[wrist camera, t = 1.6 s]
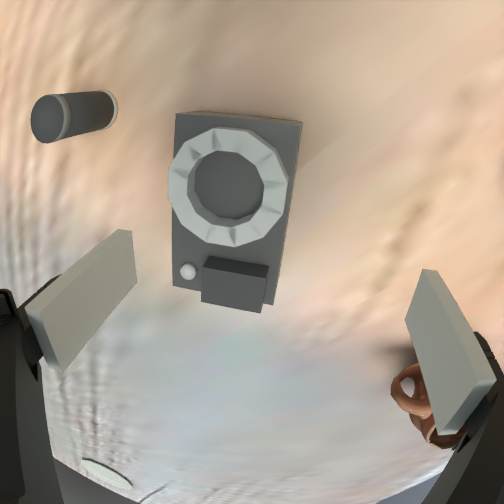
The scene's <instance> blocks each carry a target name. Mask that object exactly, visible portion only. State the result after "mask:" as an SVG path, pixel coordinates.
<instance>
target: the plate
mask: <svg viewBox="0 0 504 504" xmlns="http://www.w3.org/2000/svg"><path fill="white" fill-rule="evenodd" d="M81 464H82V465H83V466H84V467H85V469H87V470H88V471H89V472H90V473H92V474H93V475H95V476H96V477H98V478H99V479H101V480H103V481H105V482H107V483H109V484H111V485H113V486H116V487H119V488H122V489H127V490H131V488H133V487H132V486H131V485H130V483H129V482H128V481H127V480H126V479H125V478H124V477H122V476H121V475H120V474H118V473H117V472H115V471H113V470H112V469H110V468H108V467H106V466H104V465H102V464H99V463H97V462H93V461H89V460H81ZM103 469H104V470H103ZM106 474H107V475H106ZM112 474H113V475H114V476H113V475H112ZM108 475H109V476H108Z"/></svg>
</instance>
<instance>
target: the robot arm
mask: <svg viewBox="0 0 504 504" xmlns="http://www.w3.org/2000/svg"><path fill="white" fill-rule="evenodd" d="M136 283H137V276H136V267H135V259H134V250H133V240H132V231H128V230H120V229H118V230H116V231H115V232H114V233H112V234H111V235H110V236H109V237H107V238H106V239H105V240H103V241H102V242H101V243H100V244H98V245H97V246H96V247H95V248H93V249H92V250H91V251H90V252H88V253H87V254H86V255H85V256H83V257H82V258H81V259H80V260H78V261H77V262H76V263H75V264H74V265H72V266H71V267H70V268H69V269H68V270H66V271H65V272H64V273H63V274H60V275H58V276H56V277H54V278H52V279H51V280H49V281H48V282H47V283H46V284H45V285H44V286H43V287H41V288H40V289H39V290H38V291H37V293H34V294H33V295H32V296H31V297H30V298H29V299H28V300H27V301H25V302H24V303H23V304H22V305H21V306H20V307H19V308H18V309H17V307H16V304H15V301H14V298H13V295H12V292H11V291H10V290H8V289H0V504H64V502H63V498H62V494H61V491H60V487H59V483H58V479H57V474H56V470H55V466H54V461H53V456H52V451H51V445H50V440H49V434H48V427H47V421H46V413H45V405H44V396H43V385H42V372H41V366H40V363H39V360H40V359H41V358H42V356H44V358H45V360H46V363H47V365H48V367H50V368H52V369H55V370H57V371H59V372H62V373H64V371H65V370H66V369H67V367H68V366H69V365H70V364H71V362H72V361H73V360H74V358H75V357H76V356H77V355H78V353H79V352H80V351H81V349H82V348H83V347H84V346H85V344H86V343H87V342H88V341H89V339H90V338H91V337H92V336H93V334H94V333H95V332H96V331H97V330H98V328H99V327H100V326H101V325H102V323H103V322H104V321H105V320H106V319H107V317H108V316H109V315H110V314H111V313H112V311H113V310H114V309H115V308H116V307H117V305H118V304H119V303H120V302H121V301H122V299H123V298H124V297H125V296H126V295H127V294H128V292H129V291H130V290H131V289H132V288H133V287H134V285H135V284H136ZM405 322H406V325H407V328H408V331H409V334H410V337H411V340H412V343H413V346H414V349H415V352H416V355H417V359H418V362H419V365H420V368H421V372H422V375H423V379H424V382H425V386H426V389H427V393H428V397H429V401H430V404H431V408H432V412H433V416H434V420H435V425H436V429H437V433H438V435H448V434H456V433H457V432H458V431H459V429H460V428H461V427H462V426H463V425H464V423H465V426H466V430H467V432H466V433H465V435H464V436H463V437H462V438H461V439H460V440H459V441H458V443H457V444H456V445H455V446H454V447H453V448H452V450H453V451H454V450H455V449H456V450H455V451H454V453H453V455H452V457H451V458H450V460H449V462H448V464H447V465H446V467H445V469H444V470H443V472H442V474H441V475H440V477H439V478H438V480H437V482H436V483H435V484H434V486H433V487H432V489H431V491H430V492H429V493H428V495H427V497H426V498H425V499H424V501H423V502H422V504H504V374H503V372H502V370H501V368H500V366H499V364H498V362H497V360H496V359H495V356H494V354H493V352H491V349H490V347H489V345H488V343H487V341H486V340H485V339H484V338H483V337H482V336H481V335H480V334H479V333H478V332H473V331H472V329H471V327H470V325H469V324H468V322H467V320H466V318H465V316H464V315H463V313H462V311H461V309H460V308H459V306H458V304H457V302H456V301H455V299H454V297H453V296H452V294H451V292H450V291H449V289H448V287H447V286H446V284H445V283H444V281H443V279H442V278H441V276H440V275H439V273H438V271H435V270H428V269H422V272H421V275H420V278H419V281H418V284H417V287H416V290H415V293H414V296H413V298H412V301H411V304H410V307H409V309H408V312H407V315H406V317H405Z"/></svg>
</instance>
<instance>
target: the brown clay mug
mask: <svg viewBox="0 0 504 504" xmlns="http://www.w3.org/2000/svg"><path fill="white" fill-rule="evenodd" d="M406 377H410V378H412V379H413V380H414V383H415V390H414V394H413V396H412V397H409V396H408V395H406V394H405V393H404V391H403V390H402V388H401V384H400V382H401V381H402V380H403V379H404V378H406ZM391 396H392V397H393V398H394V400H395V401H396V402H397V404H398V405H399V406H400V407H401V408H402V409H403V410H404V411H406V412H408V413H409V416H410V419H411V421H412V423H413V424H414V426H415V427H416V428H417V429H418V430H420V431H421V432H422V435H423V437H424V438H425V440H426V442H428V443H429V444H430V445H432V446H434V447H438V448H441V449H447V448H452V447H454V446H455V445H456V444H457V443H458V441H459V440H460V439H461V438H462V437H463V436H464V435H465V433H466V432H467V430H466V426H465V423H464V425H463V426H462V427H461V428H460V429H459V431H458V432H457V433H456V434H448V435H438V433H437V429H436V425H435V420H434V416H433V412H432V408H431V404H430V401H429V397H428V393H427V389H426V386H425V382H424V379H423V375H422V372H421V368H420V365H419V362H418V363H417V364H414V365H411V366H409V367H408V368H406V369H404V370H403V371H402V372H401V373H400V374H399V375H398V376H397V377H395V378H394V380H393V382H392V384H391Z"/></svg>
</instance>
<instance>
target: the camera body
mask: <svg viewBox="0 0 504 504" xmlns="http://www.w3.org/2000/svg"><path fill="white" fill-rule="evenodd" d="M301 128H302V122H297V121H290V120H283V119H276V118H268V117H260V116H251V115H241V114H230V113H218V112H204V111H194V112H186V113H178V114H176V120H175V137H174V158H173V162H172V163H171V165H170V166H169V171H168V199H169V201H170V203H171V205H172V276H173V286H177V287H182V288H186V289H191V290H196V291H201V302H205V303H210V304H215V305H220V306H225V307H230V308H235V309H240V310H245V311H251V312H256V313H261V310H262V306H263V303H264V304H269V305H273V303H274V298H275V293H276V288H277V283H278V278H279V272H280V266H281V260H282V254H283V248H284V242H285V235H286V229H287V223H288V217H289V210H290V204H291V197H292V190H293V184H294V177H295V170H296V163H297V156H298V149H299V142H300V135H301Z"/></svg>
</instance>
